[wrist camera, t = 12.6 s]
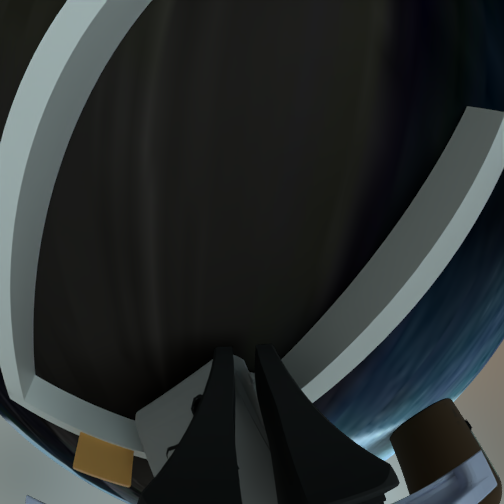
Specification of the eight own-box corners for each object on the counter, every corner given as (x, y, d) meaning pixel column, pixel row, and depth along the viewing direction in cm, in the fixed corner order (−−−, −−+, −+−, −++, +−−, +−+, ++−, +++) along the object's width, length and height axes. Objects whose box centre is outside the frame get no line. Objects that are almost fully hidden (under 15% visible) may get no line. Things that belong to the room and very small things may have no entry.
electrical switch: (225, 342, 12) (295, 540, 5) (289, 362, 15) (353, 501, 8) (131, 410, 14) (157, 539, 7) (193, 420, 17) (224, 528, 10)
